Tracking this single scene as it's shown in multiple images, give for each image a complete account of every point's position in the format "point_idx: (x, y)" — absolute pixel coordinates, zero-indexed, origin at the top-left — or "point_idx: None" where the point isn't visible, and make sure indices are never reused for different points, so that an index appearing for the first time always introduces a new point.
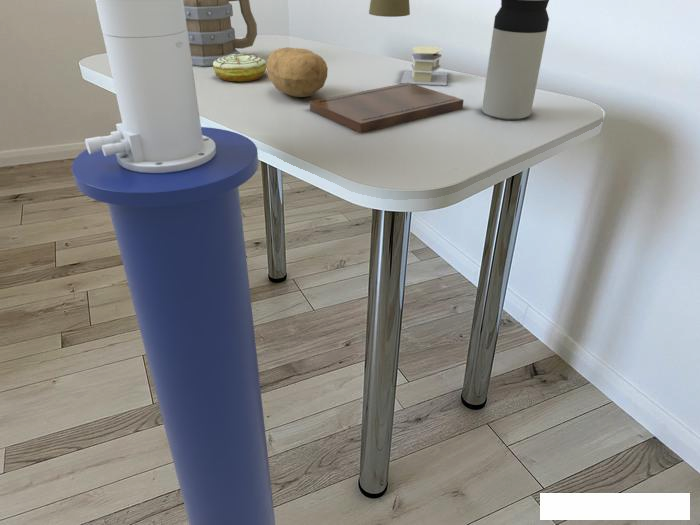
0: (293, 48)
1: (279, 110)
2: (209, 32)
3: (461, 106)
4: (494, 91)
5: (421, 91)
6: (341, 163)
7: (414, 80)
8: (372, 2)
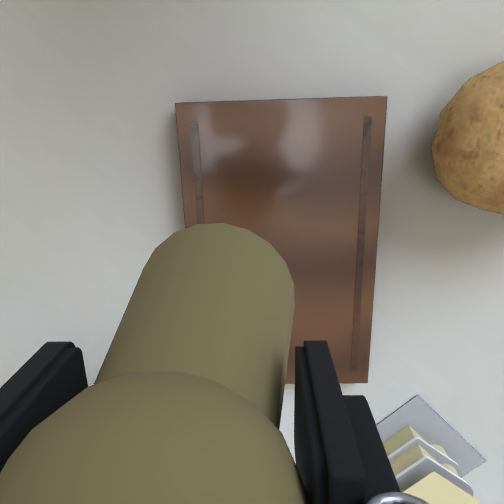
0: None
1: (430, 28)
2: None
3: None
4: None
5: (293, 358)
6: None
7: (408, 426)
8: (227, 243)
